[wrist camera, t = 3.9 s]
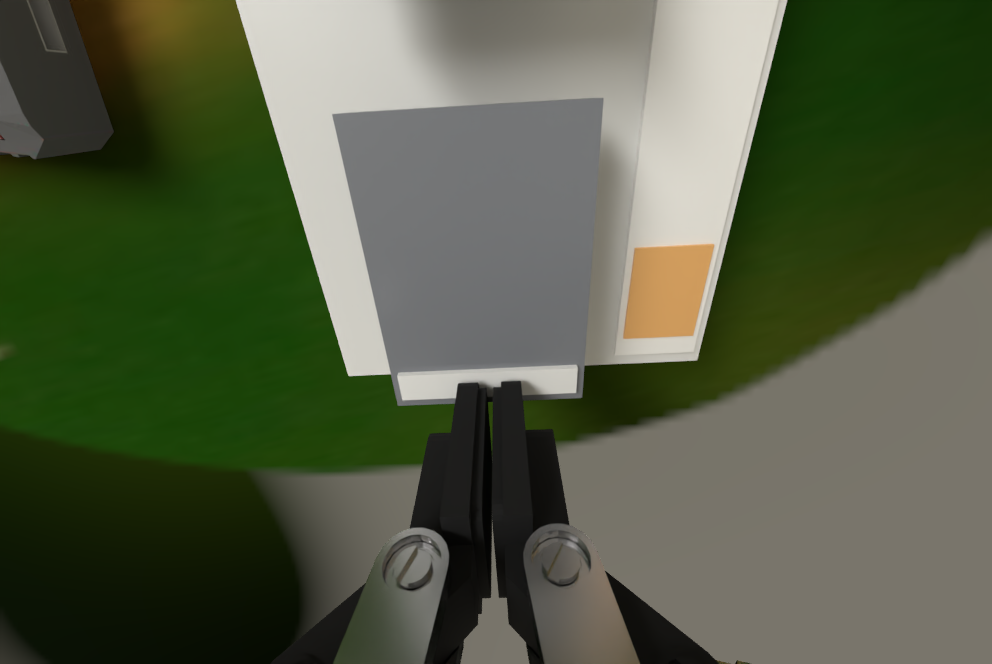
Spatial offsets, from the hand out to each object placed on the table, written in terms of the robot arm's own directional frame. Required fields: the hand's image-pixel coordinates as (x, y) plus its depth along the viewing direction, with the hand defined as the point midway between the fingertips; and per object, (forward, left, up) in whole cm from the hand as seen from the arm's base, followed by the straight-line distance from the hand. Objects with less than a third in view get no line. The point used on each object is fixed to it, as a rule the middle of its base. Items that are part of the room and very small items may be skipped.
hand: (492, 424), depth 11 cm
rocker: (-4, 0, -1) cm, 4 cm away
